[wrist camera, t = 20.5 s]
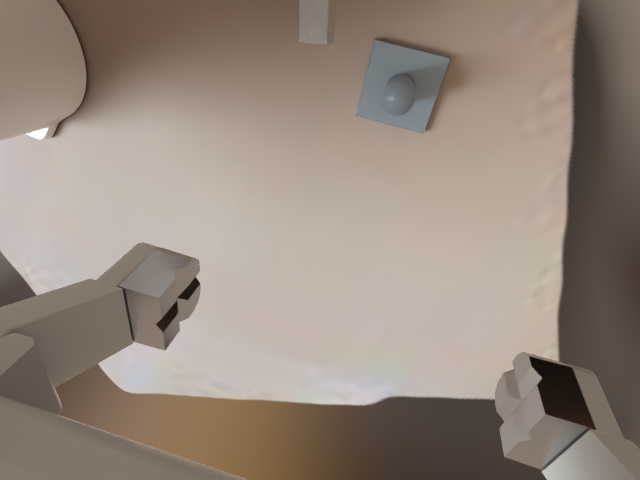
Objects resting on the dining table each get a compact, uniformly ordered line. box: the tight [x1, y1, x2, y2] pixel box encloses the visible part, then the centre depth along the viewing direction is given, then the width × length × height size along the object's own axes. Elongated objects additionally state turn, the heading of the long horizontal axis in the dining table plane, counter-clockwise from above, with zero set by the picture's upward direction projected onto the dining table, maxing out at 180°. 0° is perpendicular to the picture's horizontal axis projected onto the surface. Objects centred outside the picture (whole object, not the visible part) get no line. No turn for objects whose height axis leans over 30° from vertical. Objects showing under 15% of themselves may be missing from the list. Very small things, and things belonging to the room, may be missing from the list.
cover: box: [356, 39, 450, 133], centre depth 30 cm, size 6×6×4 cm
